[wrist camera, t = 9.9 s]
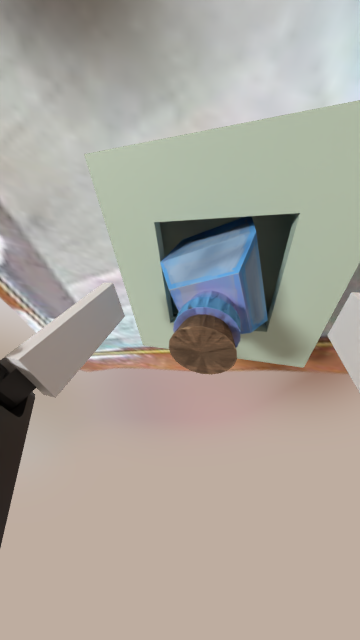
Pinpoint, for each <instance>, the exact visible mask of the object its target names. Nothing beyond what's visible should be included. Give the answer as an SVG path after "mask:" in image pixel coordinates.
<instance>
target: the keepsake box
mask: <svg viewBox="0 0 360 640" xmlns="http://www.w3.org/2000/svg"><path fill="white" fill-rule="evenodd" d="M84 156H85V159H86V162H87V165H88V169H89V172H90V175H91V178H92V181H93V185H94V188H95V191H96V194H97V198H98V201H99V204H100V207H101V211H102V214H103V217H104V220H105V223H106V227H107V230H108V233H109V236H110V240H111V243H112V246H113V249H114V252H115V256H116V259H117V262H118V265H119V269H120V272H121V275H122V278H123V282H124V285H125V288H126V291H127V294H128V298H129V301H130V304H131V307H132V311H133V314H134V317H135V320H136V324H137V327H138V330H139V333H140V336H141V340H142V343H143V345H145V346H152V347H159V348H166V349H169V340H170V338H171V337H172V335H173V334H174V332H173V328H174V322H175V320H176V318H177V316H178V313H179V311H178V309H177V307H176V305H175V302H174V300H173V298H172V296H171V293H170V291H169V288H168V285H167V282H166V279H165V276H164V273H163V270H162V267H161V264H160V262H161V261H162V260H163V259H164V258H165V257H166V256H167V255H168V254H169V253H170V252H171V251H172V250H173V249H174V248H175V247H176V246H177V245H178V244H179V243H180V242H181V241H182V240H183V239H186V238H188V237H191V236H194V235H197V234H199V233H202V232H205V231H207V230H210V229H213V228H216V227H218V226H221V225H224V224H227V223H229V222H232V221H235V220H237V219H240V218H243V217H246V216H252V220H253V223H254V226H255V229H256V234H257V242H258V250H259V257H260V265H261V272H262V280H263V288H264V295H265V303H266V310H267V318H268V320H267V321H266V322H265V323H263V324H262V325H261V326H259V327H258V328H257V329H255V330H254V331H253V332H251V333H246V334H240V342H239V344H238V346H237V348H236V350H237V358H238V359H245V360H253V361H260V362H267V363H274V364H281V365H289V366H296V367H303V368H304V366H305V364H306V362H307V361H308V359H309V357H310V355H311V353H312V351H313V349H314V347H315V346H316V344H317V342H318V340H319V338H320V336H321V334H322V332H323V331H324V329H325V327H326V325H327V323H328V321H329V319H330V317H331V316H332V314H333V312H334V310H335V308H336V306H337V304H338V302H339V301H340V299H341V297H342V295H343V293H344V291H345V289H346V287H347V286H348V284H349V282H350V280H351V278H352V276H353V274H354V272H355V271H356V269H357V267H358V265H359V263H360V100H359V101H353V102H348V103H343V104H338V105H333V106H328V107H323V108H318V109H313V110H308V111H302V112H297V113H292V114H287V115H282V116H277V117H272V118H267V119H262V120H257V121H251V122H246V123H241V124H236V125H231V126H226V127H221V128H216V129H211V130H206V131H200V132H195V133H190V134H185V135H180V136H175V137H170V138H165V139H160V140H155V141H149V142H144V143H139V144H134V145H129V146H124V147H119V148H114V149H109V150H104V151H99V152H93V153H88V154H84Z"/></svg>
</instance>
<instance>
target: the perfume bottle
mask: <svg viewBox="0 0 360 640" xmlns="http://www.w3.org/2000/svg"><path fill="white" fill-rule="evenodd" d="M160 264H161V267H162V270H163V273H164V276H165V279H166V282H167V285H168V288H169V291H170V293H171V296H172V298H173V300H174V302H175V305H176V307H177V309H178V311H179V313H178V316H177V318H176V320H175V322H174V328H173V332H174V334H173V335H172V337H171V338H170V340H169V350H170V353H171V355H172V356H173V358H174V359H175V360H176V361H177V362H178V363H179V364H180V365H182V366H183V367H185V368H187V369H189V370H191V371H194V372H197V373H201V374H218V373H222V372H225V371H227V370H229V369H230V368H231V367H232V366H234V364H235V362H236V360H237V350H236V348H237V346H238V344H239V342H240V334H246V333H251V332H253V331H254V330H255V329H257V328H258V327H259V326H261V325H262V324H263V323H265V322H266V321H267V320H268V318H267V310H266V303H265V295H264V288H263V280H262V272H261V265H260V257H259V250H258V242H257V234H256V229H255V226H254V223H253V220H252V216H246V217H243V218H240V219H237V220H235V221H232V222H229V223H227V224H224V225H221V226H218V227H216V228H213V229H210V230H207V231H205V232H202V233H199V234H197V235H194V236H191V237H188V238H186V239H183V240H182V241H181V242H180V243H179V244H178V245H177V246H176V247H175V248H174V249H173V250H172V251H171V252H170V253H169V254H168V255H167V256H166V257H165V258H164V259H163V260H162V261H161V262H160Z"/></svg>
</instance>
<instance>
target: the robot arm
mask: <svg viewBox="0 0 360 640" xmlns="http://www.w3.org/2000/svg"><path fill="white" fill-rule="evenodd" d="M124 317H125V316H124V313H123V310H122V307H121V304H120V301H119V298H118V296H117V293H116V290H115V287H114V284H113V283H103V284H101V285H100V286H99V287H97V288H96V289H94V290H93V291H92V292H90V293H89V294H88V295H86V296H85V297H84V298H82V299H81V300H80V301H78V302H77V303H76V304H74V305H73V306H72V307H70V308H69V309H68V310H66V311H65V312H64V313H62V314H61V315H60V316H58V317H57V318H56V319H54V320H53V321H52V322H50V323H49V324H48V325H46V326H45V327H44V328H42V329H41V330H40V331H38V332H37V333H36V334H34V335H33V336H32V337H30V338H29V339H28V340H26V341H25V342H24V343H22V344H21V345H20V346H18V347H17V348H16V349H14V350H13V351H12V352H10V353H9V354H8V355H7V356H5V357H4V358H3V359H2V360H0V547H1V543H2V538H3V534H4V529H5V525H6V521H7V517H8V512H9V508H10V503H11V499H12V495H13V490H14V486H15V482H16V478H17V473H18V469H19V464H20V460H21V456H22V451H23V447H24V443H25V439H26V434H27V430H28V425H29V421H30V417H31V413H32V408H33V404H34V400H35V394H34V393H33V392H32V391H33V390H34V389H35V388H37V389H38V390H40V391H41V393H43V394H44V395H48V396H51V397H56V396H57V395H58V394H59V393H60V392H61V391H62V390H63V388H64V387H65V386H66V385H67V384H68V382H69V381H70V380H71V379H72V378H73V377H74V375H75V374H76V373H77V372H78V371H79V370H80V368H81V367H82V366H83V365H84V364H85V362H86V361H87V360H88V359H89V358H90V357H91V355H92V354H93V353H94V352H95V351H96V350H97V348H98V347H99V346H100V345H101V344H102V342H103V341H104V340H105V339H106V338H107V337H108V335H109V334H110V333H111V332H112V331H113V330H114V328H115V327H116V326H117V325H118V324H119V322H120V321H121V320H122V319H123V318H124ZM327 336H328V338H329V339H330V341H331V343H332V345H333V346H334V348H335V350H336V352H337V354H338V355H339V357H340V359H341V361H342V362H343V364H344V366H345V368H346V370H347V371H348V373H349V375H350V377H351V379H352V380H353V382H354V384H355V386H356V387H357V389H358V391H359V393H360V293H359V292H351V294H350V296H349V297H348V299H347V301H346V303H345V305H344V306H343V308H342V310H341V312H340V313H339V315H338V317H337V319H336V321H335V322H334V324H333V326H332V328H331V329H330V331H329V333H328V335H327Z"/></svg>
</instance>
